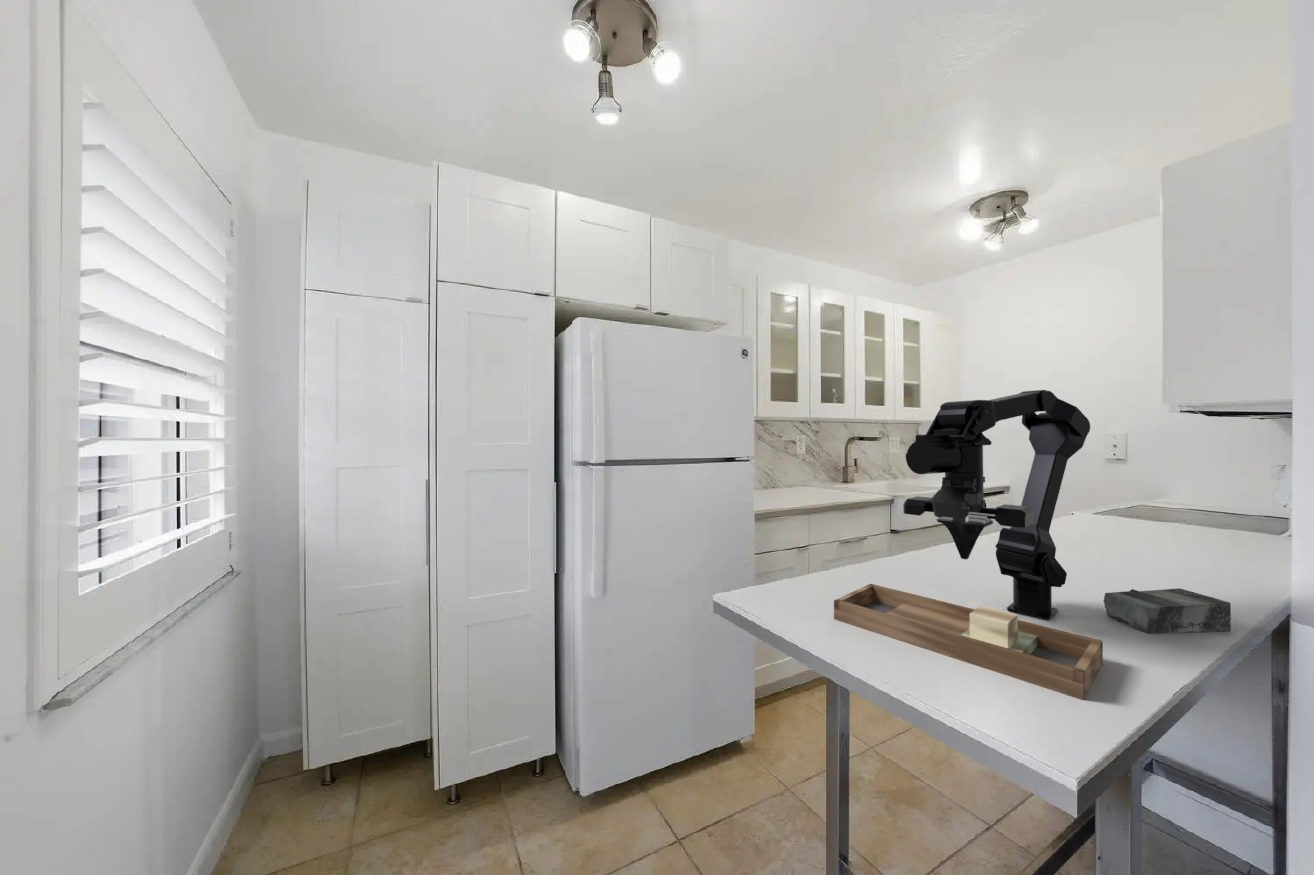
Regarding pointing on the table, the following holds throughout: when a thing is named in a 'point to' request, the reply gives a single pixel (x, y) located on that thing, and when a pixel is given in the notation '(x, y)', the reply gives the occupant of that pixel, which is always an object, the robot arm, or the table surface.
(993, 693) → the table surface
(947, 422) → the robot arm
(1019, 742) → the table surface
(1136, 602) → the stone block
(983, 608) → the beech block
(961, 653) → the tray
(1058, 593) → the table surface
